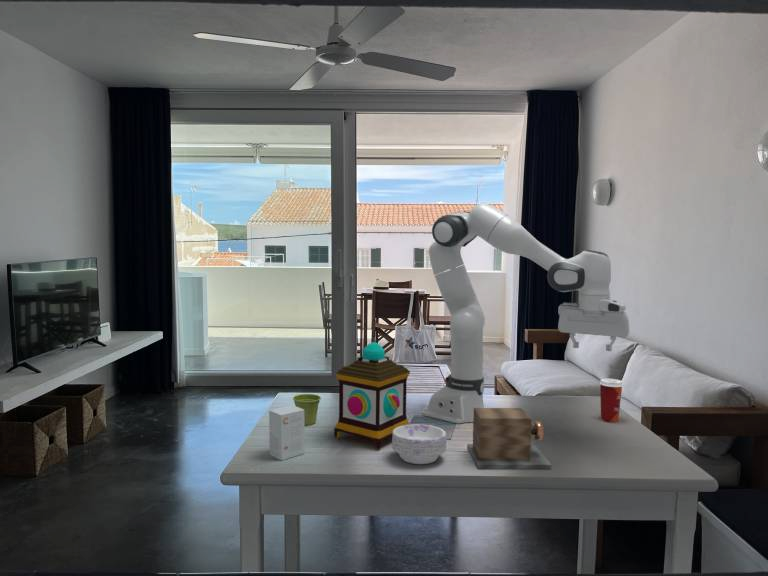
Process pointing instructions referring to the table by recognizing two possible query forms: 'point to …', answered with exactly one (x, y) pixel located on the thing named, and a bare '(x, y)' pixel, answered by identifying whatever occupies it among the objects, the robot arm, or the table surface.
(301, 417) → the small box
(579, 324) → the robot arm
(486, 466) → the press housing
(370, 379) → the decorative lantern
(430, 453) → the paper bowls
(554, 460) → the table surface
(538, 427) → the plunger
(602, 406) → the paper cup
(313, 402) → the plant pot
